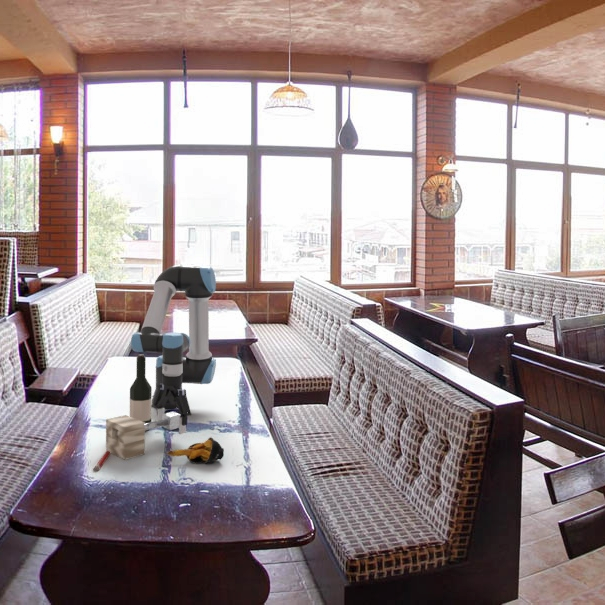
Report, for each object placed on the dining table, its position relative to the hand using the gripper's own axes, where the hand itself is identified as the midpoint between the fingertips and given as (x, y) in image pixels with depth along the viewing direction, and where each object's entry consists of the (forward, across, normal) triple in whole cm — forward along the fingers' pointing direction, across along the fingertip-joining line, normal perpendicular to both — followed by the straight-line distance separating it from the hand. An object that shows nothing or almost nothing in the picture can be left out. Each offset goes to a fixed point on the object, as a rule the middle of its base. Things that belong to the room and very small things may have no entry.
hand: (171, 429), depth 235 cm
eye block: (+4, 0, -20) cm, 20 cm away
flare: (+5, +3, -31) cm, 31 cm away
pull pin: (-1, 0, -10) cm, 10 cm away
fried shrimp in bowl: (+4, +24, -7) cm, 25 cm away
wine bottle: (+4, -19, -1) cm, 20 cm away
